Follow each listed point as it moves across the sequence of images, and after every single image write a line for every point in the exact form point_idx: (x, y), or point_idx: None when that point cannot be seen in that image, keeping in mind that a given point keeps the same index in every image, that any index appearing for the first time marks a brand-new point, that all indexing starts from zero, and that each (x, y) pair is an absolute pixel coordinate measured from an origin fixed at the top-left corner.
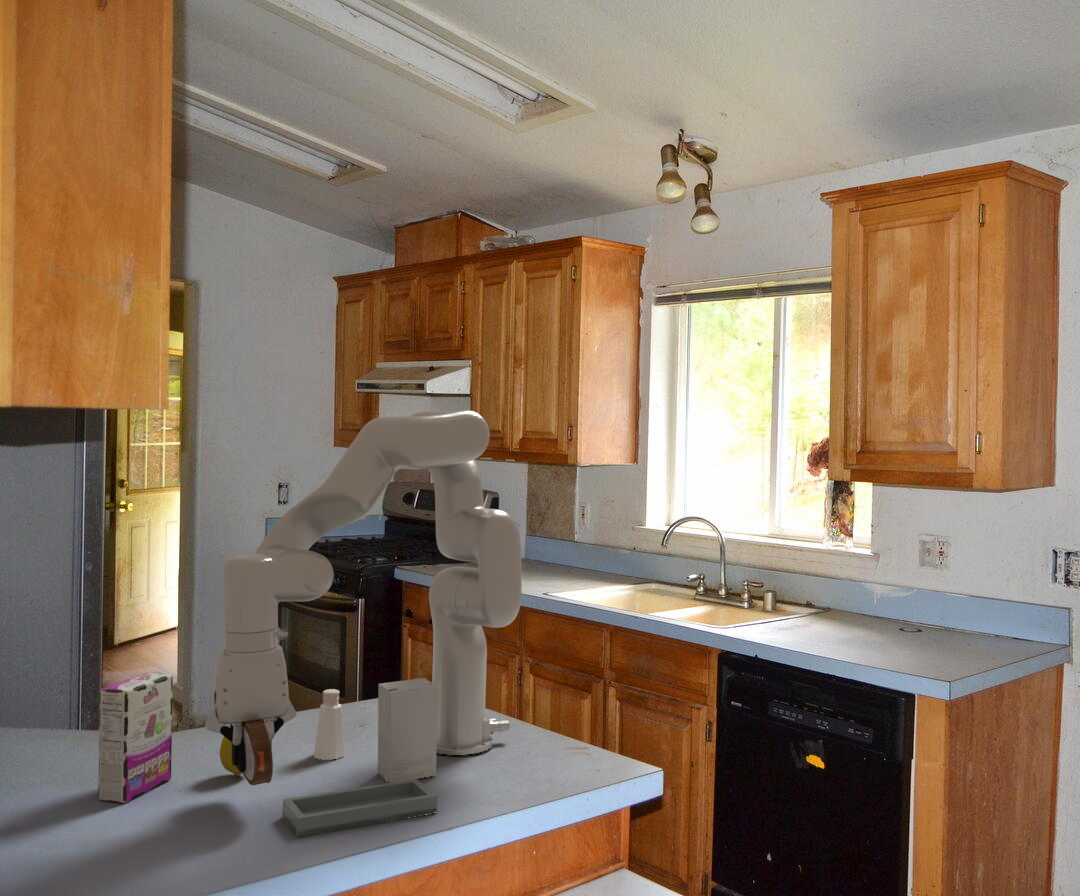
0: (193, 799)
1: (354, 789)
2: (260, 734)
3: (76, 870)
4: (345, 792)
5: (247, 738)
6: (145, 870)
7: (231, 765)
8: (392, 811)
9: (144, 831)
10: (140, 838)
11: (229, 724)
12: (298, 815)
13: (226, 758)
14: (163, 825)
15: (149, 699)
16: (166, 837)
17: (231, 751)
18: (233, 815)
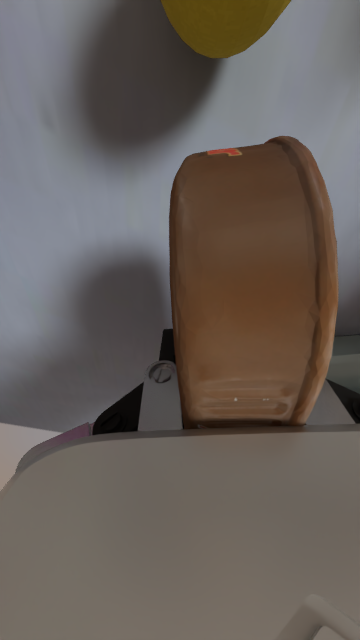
0: (94, 213)
1: (356, 358)
2: None
3: (8, 404)
4: (337, 362)
5: None
6: (79, 417)
7: (188, 44)
8: None
9: (45, 337)
10: (48, 355)
11: (139, 421)
12: None
13: (168, 13)
14: (67, 325)
15: None
16: (82, 361)
17: (189, 8)
18: (169, 319)
